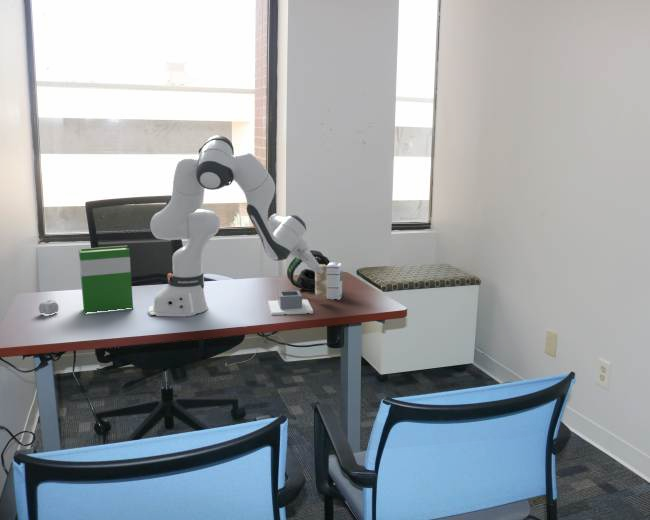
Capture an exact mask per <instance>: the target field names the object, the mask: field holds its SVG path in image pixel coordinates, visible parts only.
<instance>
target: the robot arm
mask: <svg viewBox="0 0 650 520" xmlns="http://www.w3.org/2000/svg"><path fill="white" fill-rule="evenodd" d="M234 149H235V148H234V146H233V143H232V142H231V140H230V139H229V138H227V137H225V136H224V135H213V136H211V137H210V138H209V139H208V140H207V141H206V142H205V143H204V144H203V145H202V146H201V147H200V148H199V150H198V155H197V156H185V157H182V158H180V159H179V160H178V162H177V164H176V167H175V171H174V174H173V175H174V176H173V180H172V181H173V182H172V184H173V185H172V193H171V198H170V200H169V202H168V203H167V205H166V206H165V207H164V208H163V209H161V210H160V211H158V212H155V214H154V215H153V216H152V217H151V219H150V223H149V225H150V227H149V228H150V231H151V233H152V235H153V237H154V238H156V239H158V240H165V241H176V240H177V241H180V240H187V241H186V243H185V245H183V246H182V247H180V248H179V249H177V250H176V251H175V252H174V253H173V254H172V258H171V259H172V273H171V272H169V273H168V274H167V276H166V277H167V285H165V286H164V287H163V288H161V289H160V291H158V292H157V293H156V295H155V297H154V300H153V304H151V305H150V306H149V307H148V311H147V313H148V312H149V314H151V315H156V316H155V317H187V316H188V317H192V316H194V315H196V314H197V313H198V314H200V313H204V312H206V311H207V310H208V309H209V306H208V304H207V301H206V296H205V291H204V290H205V289H204V288H205V276H204V273H203V258H204V257H203V255H204V251H205V248H206V246H207V244H208V243H209V241H210V240H211V239H212V238H213V237H214V236H216V235H217V234H218V232H219V230H220V227H221V226H220V225H221V221H220V218H219V215H218V214H217V212H215V211H214V210H209V209H203V208H201V207H202V205H203V203H204V198H205V189H206V190H210V191H211V190H212V191H214V190H219V189H221V188H222V189H223V188H224V187H228V186H230V185H231V184H232V183H233V182H236V183H237V185H238V186H239V188H240V189H241V190H242V192H243V193H244V196H245V200H246V213H247V216H248V217H249V219H250V221H251V224H252V226H253V227H254V229H255V231H256V233H257V235H258V237H259V239H260V240H261V243H262V245H263V249H264V251H265V253H266V254H267V256H268V257H269V258H270V259H271V260H273V261H284V260H287V258H289V257H290V258H291V259H294V258H295V257H296V258H297V259H299V258H300V259H301V260H302V261H303V262H302V263H304V264H305V265H306V266H307V267H308V269H309V270H312V271H315V270H317V271H318V272H319V273H320V274H322V273H323V272H324V271H323V269H322V268H321V267H320V266H319V263H318V262H317V261H316V259H315V257H314V256H313V255H312V253H311V252H310V250H309V246H308V241H307V239H305V238H304V237H303V236H305V234H306V232H307V225H306V223H305V221H304V220H303V219H302V218H300V217H299V216H298V215H297V214H294V215H293V214H292V215H287V216H281V215H280V214H277V213H272V214H271V215H270V216H269V218H268V217H267V216H268V211H269V209H270V205H271V204H272V201H273V199H274V197H275V193H276V184H275V181H274V179H273V177H272V175H271V174H270V173H269V172H268V170H267V169H266V168H265V167H266V166H264V165H263V164H262V163H261V162H260V160H258V159H257V157H256V156H255V155H254V154H252V153H251V152H248V151H247V152H243V151H242V152H240V153H238V154H235V153H234V151H235V150H234ZM234 154H235V155H234ZM200 208H201V209H200ZM149 314H148V315H149ZM151 315H150V316H151Z"/></svg>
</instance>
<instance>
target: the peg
mask: <svg viewBox="0 0 650 520" xmlns="http://www.w3.org/2000/svg"><path fill="white" fill-rule="evenodd" d="M319 266H320V267H321V268H322V269H323V271H324V272H323V273H322V274H320V273H319V272H318V271H317V270H315V290H314V295H315V296H316V297H323V296H324V297H325V296H326V297H327V266H326V265H325V264H319Z"/></svg>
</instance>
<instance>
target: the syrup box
mask: <svg viewBox="0 0 650 520" xmlns="http://www.w3.org/2000/svg"><path fill="white" fill-rule="evenodd" d="M342 297H343V263H342V262H330V263H329V264H328V265H327V287H326V300H334V299H337V300H341V299H342ZM337 300H336V301H337Z"/></svg>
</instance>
